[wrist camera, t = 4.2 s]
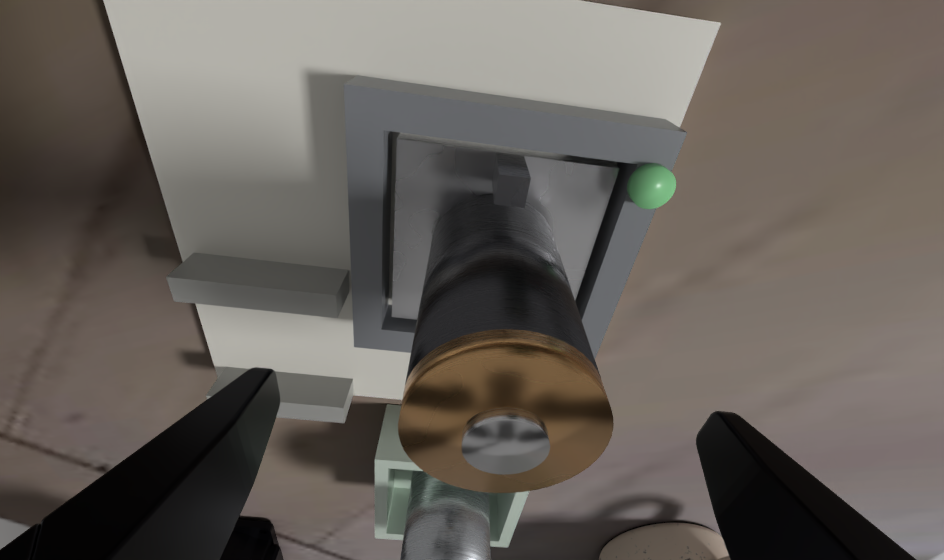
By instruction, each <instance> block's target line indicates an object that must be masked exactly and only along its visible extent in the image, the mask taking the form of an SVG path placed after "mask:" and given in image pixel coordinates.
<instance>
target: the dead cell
mask: <svg viewBox="0 0 944 560" xmlns="http://www.w3.org/2000/svg"><path fill="white" fill-rule="evenodd" d="M400 560H491V551H490V514H489V493H487V492H479V491H473V490H468V489H463V488H460V487H456V486H453V485H450V484H447V483H445V482H442V481H440V480H438V479H436V478H434V477H432V476H431V475H429V474H427V473H426V472H424V471H415V470H412V478H411V485H410V493H409V500H408V507H407V515H406V522H405V529H404V537H403V544H402V552H401V559H400Z"/></svg>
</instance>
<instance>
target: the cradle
mask: <svg viewBox="0 0 944 560" xmlns="http://www.w3.org/2000/svg"><path fill="white" fill-rule="evenodd" d="M618 172H619V168H618V166H617V165H616V164H615V163H614V162H613V161H609V160H601V159H594V158H587V157H579V156H572V155H564V154H557V153H549V152H542V151H534V150H527V149H520V148H512V147H505V146H497V145H490V144H482V143H475V142H468V141H460V140H453V139H445V138H438V137H430V136H423V135H416V134H408V133H400V134H399V136H398V138H397V149H396V184H395V219H394V255H393V290H392V317H396V318H406V319H415V320H417V318H418V312H419V307H420V302H421V296H422V291H423V285H424V280H425V274H426V269H427V264H428V258H429V253H430V247H431V242H432V237H433V234H434V231H435V228H436V226H437V224H438V223H439V221H440V220H441V218H442V217H443V216H444V215H445V214H446V213H447V211H449V210H450V209H451V208H452V207H453V206H455V205H456V204H458V203H460V202H461V201H463V200H466V199H468V198H470V197H474V196H477V195H482V194H492V193H493V199H494V204H496V205H504V206H512V207H520V208H525V204H526V202H528V203H530V204H531V205H533V206H534V207H535V208H536V209H537V210H539V211H540V212H541V214H542V215H543V216H544V217H545V218H546V220H547V222H548V223H549V225H550V228H551V230H552V233H553V236H554V239H555V242H556V245H557V248H558V251H559V254H560V257H561V260H562V263H563V266H564V269H565V272H566V275H567V278H568V281H569V284H570V287H571V290H572V293H573V296H574V299H575V300H576V297H577V294H578V291H579V288H580V285H581V282H582V279H583V276H584V273H585V270H586V267H587V264H588V261H589V258H590V255H591V252H592V249H593V246H594V243H595V240H596V237H597V234H598V231H599V228H600V225H601V222H602V219H603V216H604V214H605V211H606V208H607V205H608V202H609V199H610V196H611V193H612V190H613V187H614V184H615V181H616V178H617V175H618Z"/></svg>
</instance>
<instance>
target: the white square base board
mask: <svg viewBox="0 0 944 560" xmlns="http://www.w3.org/2000/svg"><path fill="white" fill-rule="evenodd" d="M103 1H104V4H105V8H106V11H107V14H108V18H109V21H110V24H111V27H112V31H113V34H114V37H115V41H116V44H117V47H118V50H119V54H120V57H121V60H122V64H123V67H124V70H125V74H126V77H127V80H128V83H129V87H130V90H131V93H132V97H133V100H134V103H135V107H136V110H137V113H138V116H139V120H140V123H141V126H142V130H143V133H144V136H145V139H146V143H147V146H148V149H149V153H150V156H151V159H152V163H153V166H154V169H155V172H156V176H157V179H158V182H159V186H160V189H161V192H162V196H163V199H164V202H165V205H166V209H167V212H168V215H169V219H170V222H171V225H172V228H173V232H174V235H175V238H176V242H177V245H178V248H179V252H180V255H181V258H182V261H183V262H182V263H181V264H180V265H179V266H178V267H177V268H176V269H175V270H173V271H172V272H171V273H170V274H169V275H168V276H167V277H166V278H167V281H168V284H169V287H170V290H171V293H172V296H173V299H174V301H176V302H186V303H195V304H196V308H197V311H198V314H199V317H200V321H201V324H202V327H203V331H204V334H205V337H206V341H207V344H208V347H209V350H210V354H211V357H212V360H213V364H214V367H215V370H216V373H217V377H218V379H217V380H216V382H215V383H214V385H213V386H212V388H211V389H210V391H209V392H208V393H207V395H206V397H207V399H209V398H210V397H211V396H213V395H214V394H216V393H217V392H218V391H220V390H221V389H222V388H224V387H225V386H227V385H228V384H229V383H231V382H232V381H233V380H235V379H236V378H238V377H239V376H240V375H242V374H243V373H244V372H246V371H247V370H249V369H251V368H254V367H259V368H269V369H273V370H274V371H275V372H276V375H277V381H278V386H279V392H280V406H279V410H278V413H277V416H276V417H279V418H291V419H302V420H313V421H325V422H336V423H345V420H346V417H347V414H348V410H349V407H350V404H351V401H352V398H353V395H356V396H367V397H378V398H389V399H399V400H402V399H403V393H404V388H405V383H406V377H407V372H408V366H409V361H410V356H411V350H412V345H413V339H414V334H415V329H416V323H417V320H415V319H406V318H396V317H392V290H393V255H394V219H395V184H396V149H397V138H398V136H399V134H400V133H408V134H416V135H423V136H430V137H438V138H445V139H453V140H460V141H468V142H475V143H482V144H490V145H497V146H505V147H512V148H520V149H527V150H534V151H542V152H549V153H557V154H564V155H572V156H579V157H587V158H594V159H601V160H609V161H613V162H614V163H615V164H616V165H617V166H618V168H619V172H618V175H617V178H616V181H615V184H614V187H613V190H612V193H611V196H610V199H609V202H608V205H607V208H606V211H605V214H604V216H603V219H602V222H601V225H600V228H599V231H598V234H597V237H596V240H595V243H594V246H593V249H592V252H591V255H590V258H589V261H588V264H587V267H586V270H585V273H584V276H583V279H582V282H581V285H580V288H579V291H578V294H577V297H576V300H575V302H576V305H577V308H578V311H579V314H580V317H581V320H582V323H583V326H584V329H585V332H586V335H587V338H588V341H589V344H590V347H591V350H592V353H593V356H594V359H595V357H596V355H597V352H598V350H599V348H600V345H601V343H602V340H603V338H604V335H605V333H606V330H607V328H608V325H609V323H610V321H611V318H612V316H613V313H614V311H615V308H616V306H617V303H618V301H619V299H620V296H621V294H622V291H623V289H624V286H625V284H626V281H627V279H628V276H629V274H630V272H631V269H632V267H633V264H634V262H635V259H636V257H637V254H638V252H639V250H640V247H641V245H642V242H643V240H644V237H645V235H646V232H647V230H648V227H649V225H650V223H651V220H652V218H653V215H654V213H655V210H656V208H658V207H660V206H662V205H663V204H665V203H666V202H667V201H668V200H669V199H670V198H671V197H672V195H673V194H674V191H675V188H676V179H675V177H674V175H673V174H672V172H671V171H672V169H673V166H674V164H675V161H676V159H677V156H678V154H679V152H680V149H681V147H682V144H683V142H684V139H685V137H686V134H687V132H686V131H684V130H683V129H681V128H680V125H681V123H682V120H683V118H684V115H685V113H686V110H687V108H688V105H689V103H690V100H691V97H692V95H693V92H694V90H695V87H696V85H697V82H698V80H699V77H700V75H701V72H702V70H703V67H704V65H705V62H706V60H707V57H708V54H709V52H710V49H711V47H712V44H713V42H714V39H715V37H716V34H717V32H718V29H719V27H720V24H721V23H718V22H712V21H706V20H699V19H693V18H687V17H681V16H674V15H668V14H662V13H656V12H649V11H643V10H637V9H631V8H624V7H618V6H612V5H605V4H599V3H593V2H587V1H580V0H103Z"/></svg>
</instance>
